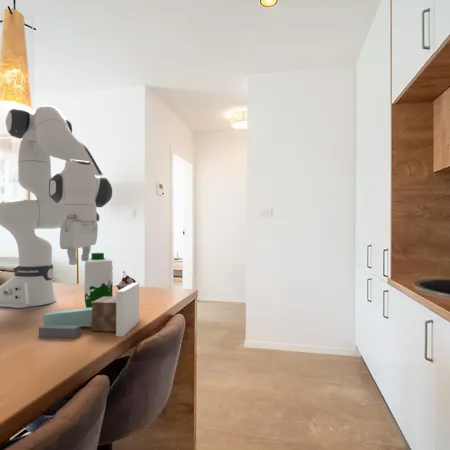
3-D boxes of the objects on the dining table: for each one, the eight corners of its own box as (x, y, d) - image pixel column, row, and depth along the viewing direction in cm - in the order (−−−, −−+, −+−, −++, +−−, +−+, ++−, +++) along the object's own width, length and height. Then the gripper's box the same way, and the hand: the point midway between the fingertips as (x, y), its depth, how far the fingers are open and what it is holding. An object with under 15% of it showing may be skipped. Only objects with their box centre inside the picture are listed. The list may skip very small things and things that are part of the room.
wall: (116, 336, 95) (116, 291, 95) (132, 321, 109) (132, 282, 109) (123, 336, 95) (123, 291, 95) (139, 321, 109) (139, 282, 109)
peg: (44, 329, 101) (43, 315, 101) (51, 325, 105) (49, 311, 105) (107, 322, 101) (106, 308, 101) (111, 318, 105) (110, 305, 105)
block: (91, 330, 98) (92, 302, 98) (103, 322, 106) (103, 296, 106) (120, 331, 98) (120, 302, 98) (129, 323, 106) (129, 296, 106)
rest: (38, 337, 93) (38, 327, 93) (45, 333, 96) (45, 324, 96) (75, 338, 93) (75, 328, 93) (80, 334, 96) (80, 325, 96)
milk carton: (109, 308, 126) (109, 252, 126) (114, 314, 118) (114, 254, 118) (83, 311, 122) (83, 253, 122) (86, 317, 114) (86, 255, 114)
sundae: (117, 320, 111) (117, 272, 111) (114, 314, 117) (114, 269, 117) (138, 317, 113) (138, 271, 113) (134, 313, 119) (135, 268, 119)
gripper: (78, 214, 92) (77, 267, 92) (101, 215, 113) (100, 259, 113) (53, 214, 92) (52, 267, 92) (81, 215, 112) (80, 259, 113)
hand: (79, 262), depth 103 cm, fingers open, 8 cm apart
